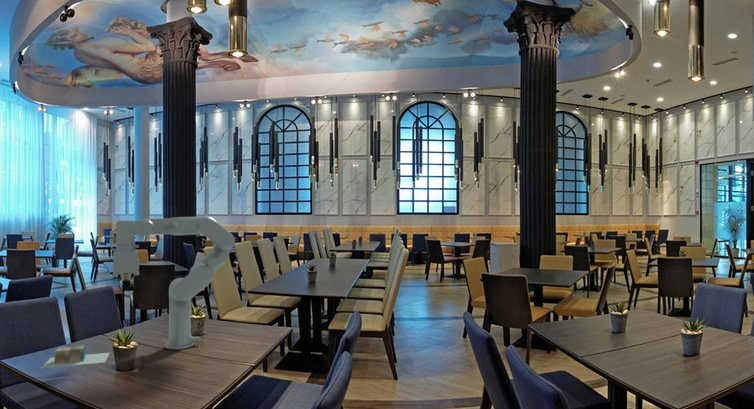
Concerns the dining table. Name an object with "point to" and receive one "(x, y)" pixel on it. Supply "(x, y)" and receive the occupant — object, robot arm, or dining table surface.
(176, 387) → the dining table surface
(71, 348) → the oak block
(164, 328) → the dining table surface
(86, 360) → the grey mat
